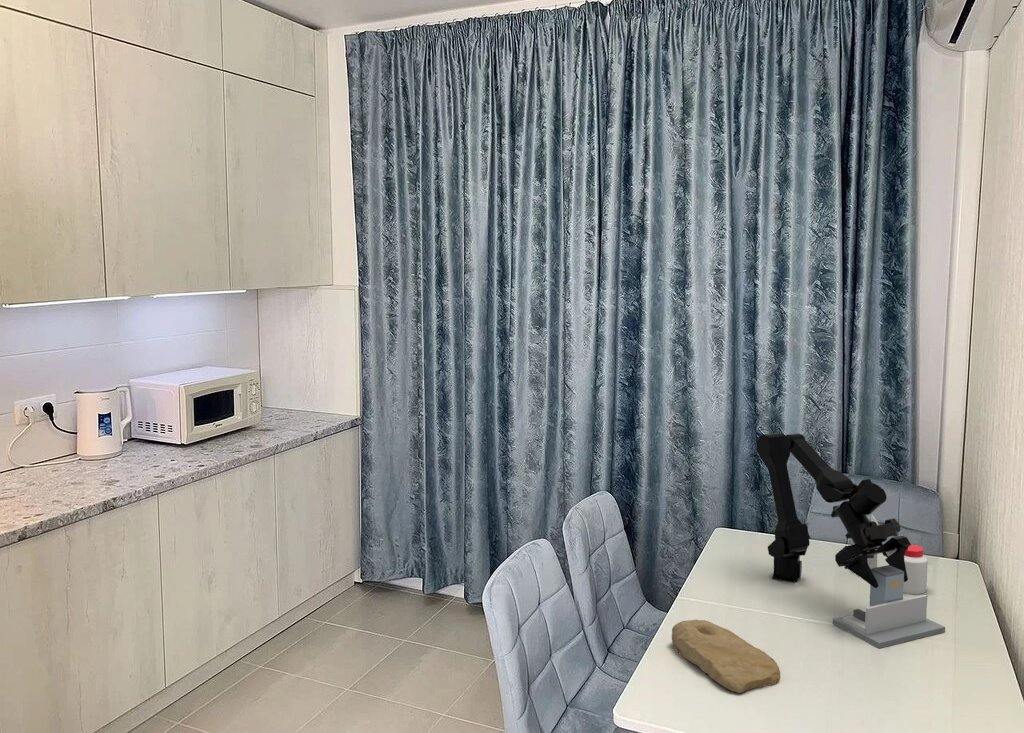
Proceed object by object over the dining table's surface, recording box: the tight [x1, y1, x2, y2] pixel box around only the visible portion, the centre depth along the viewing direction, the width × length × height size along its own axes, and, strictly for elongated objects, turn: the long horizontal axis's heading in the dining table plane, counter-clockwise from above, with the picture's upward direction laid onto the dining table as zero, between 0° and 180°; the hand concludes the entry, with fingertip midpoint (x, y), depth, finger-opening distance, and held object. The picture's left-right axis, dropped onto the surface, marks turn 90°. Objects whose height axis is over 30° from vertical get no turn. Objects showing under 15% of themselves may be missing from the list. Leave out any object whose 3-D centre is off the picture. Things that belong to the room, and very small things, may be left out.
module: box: [869, 564, 904, 607], centre depth 197 cm, size 5×6×12 cm
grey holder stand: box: [832, 594, 946, 649], centre depth 197 cm, size 14×20×7 cm
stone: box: [671, 619, 781, 694], centre depth 182 cm, size 15×26×6 cm, turn 22°
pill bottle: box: [903, 544, 929, 595], centre depth 220 cm, size 8×8×11 cm
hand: (891, 584), depth 196 cm, fingers open, 9 cm apart
